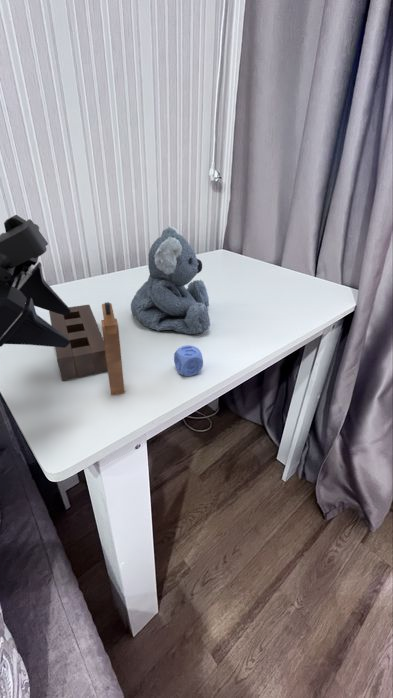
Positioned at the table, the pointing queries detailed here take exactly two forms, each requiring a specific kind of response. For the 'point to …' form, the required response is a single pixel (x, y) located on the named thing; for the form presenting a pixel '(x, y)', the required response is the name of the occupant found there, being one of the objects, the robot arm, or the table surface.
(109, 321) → the brown beam with peg
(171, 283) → the koala plush
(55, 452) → the table surface
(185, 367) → the decorative dice
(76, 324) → the rack
